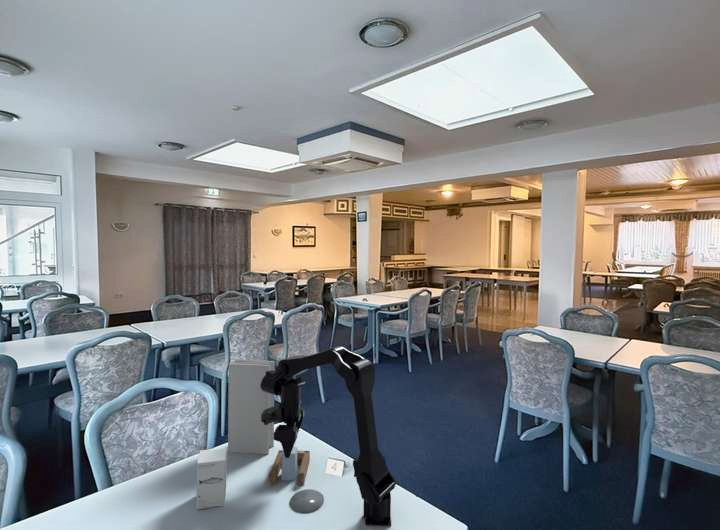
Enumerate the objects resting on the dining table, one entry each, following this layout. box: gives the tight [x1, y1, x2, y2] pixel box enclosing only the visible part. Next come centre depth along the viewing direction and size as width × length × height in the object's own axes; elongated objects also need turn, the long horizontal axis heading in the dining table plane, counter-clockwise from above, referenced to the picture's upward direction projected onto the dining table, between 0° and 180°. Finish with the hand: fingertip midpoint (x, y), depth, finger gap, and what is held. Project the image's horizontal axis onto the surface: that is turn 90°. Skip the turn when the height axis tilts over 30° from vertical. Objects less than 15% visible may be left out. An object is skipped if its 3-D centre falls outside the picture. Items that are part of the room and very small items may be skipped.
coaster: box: [290, 488, 325, 513], centre depth 107 cm, size 9×9×1 cm
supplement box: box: [195, 447, 228, 511], centre depth 106 cm, size 7×7×13 cm
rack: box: [269, 449, 311, 486], centre depth 120 cm, size 10×13×4 cm
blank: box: [281, 446, 298, 481], centre depth 118 cm, size 4×4×8 cm
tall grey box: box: [227, 359, 276, 455], centre depth 134 cm, size 14×6×30 cm, turn 84°
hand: (290, 449), depth 118 cm, fingers open, 9 cm apart
